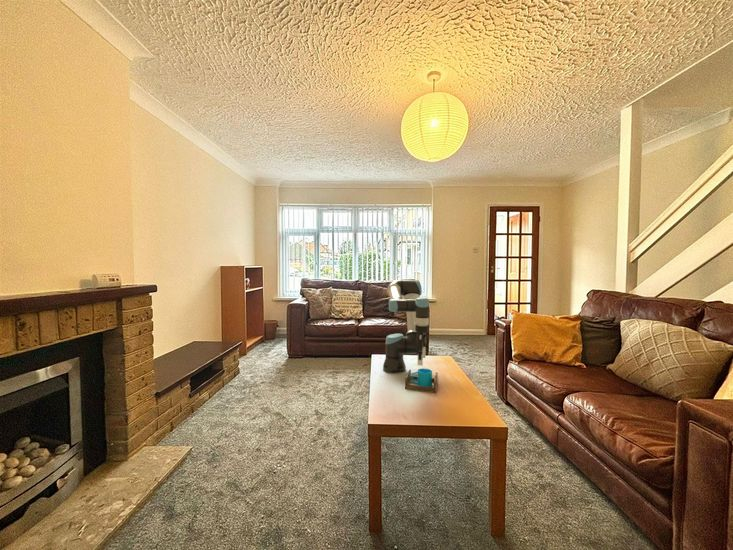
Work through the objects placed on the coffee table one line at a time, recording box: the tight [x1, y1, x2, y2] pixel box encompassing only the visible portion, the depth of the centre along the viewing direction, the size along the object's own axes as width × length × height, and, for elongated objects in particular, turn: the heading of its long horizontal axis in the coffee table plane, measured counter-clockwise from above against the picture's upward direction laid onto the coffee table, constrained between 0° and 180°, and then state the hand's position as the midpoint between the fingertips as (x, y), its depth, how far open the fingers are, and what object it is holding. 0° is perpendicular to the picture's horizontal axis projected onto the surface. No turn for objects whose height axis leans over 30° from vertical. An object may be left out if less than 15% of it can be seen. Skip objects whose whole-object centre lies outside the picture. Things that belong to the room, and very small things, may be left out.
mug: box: [411, 368, 433, 387], centre depth 171 cm, size 12×8×8 cm
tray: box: [404, 369, 438, 393], centre depth 171 cm, size 15×17×6 cm
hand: (421, 361), depth 171 cm, fingers open, 13 cm apart
